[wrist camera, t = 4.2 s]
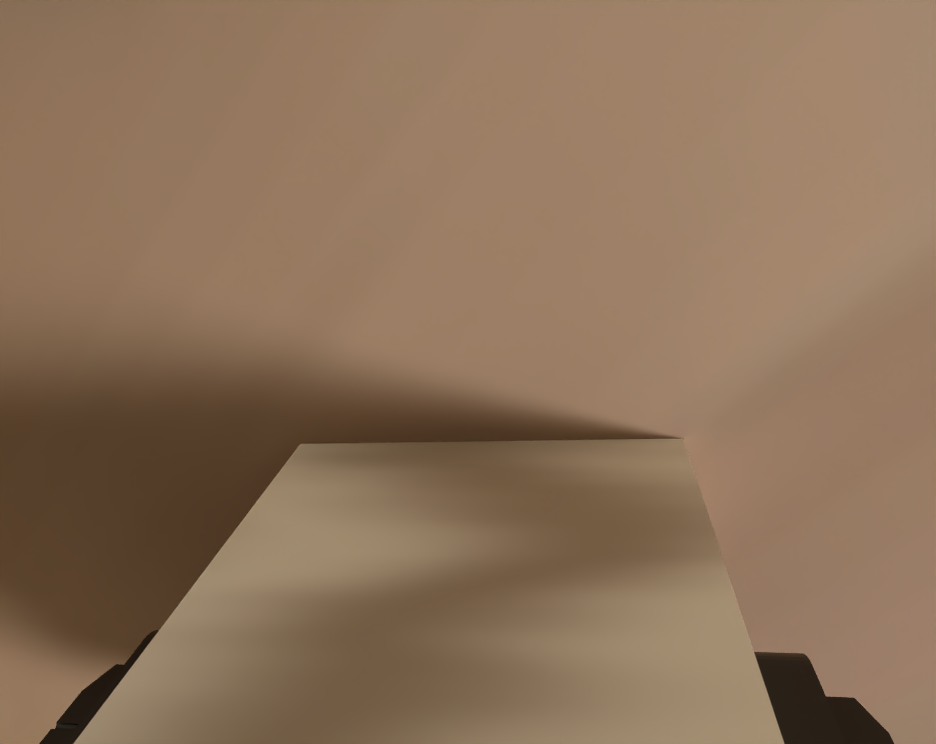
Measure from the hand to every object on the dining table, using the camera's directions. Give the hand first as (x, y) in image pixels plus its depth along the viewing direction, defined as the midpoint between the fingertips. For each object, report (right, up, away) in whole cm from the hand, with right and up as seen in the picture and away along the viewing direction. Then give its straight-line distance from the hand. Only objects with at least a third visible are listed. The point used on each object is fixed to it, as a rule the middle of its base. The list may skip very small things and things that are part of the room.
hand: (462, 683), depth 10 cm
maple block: (+1, +1, +2) cm, 2 cm away
